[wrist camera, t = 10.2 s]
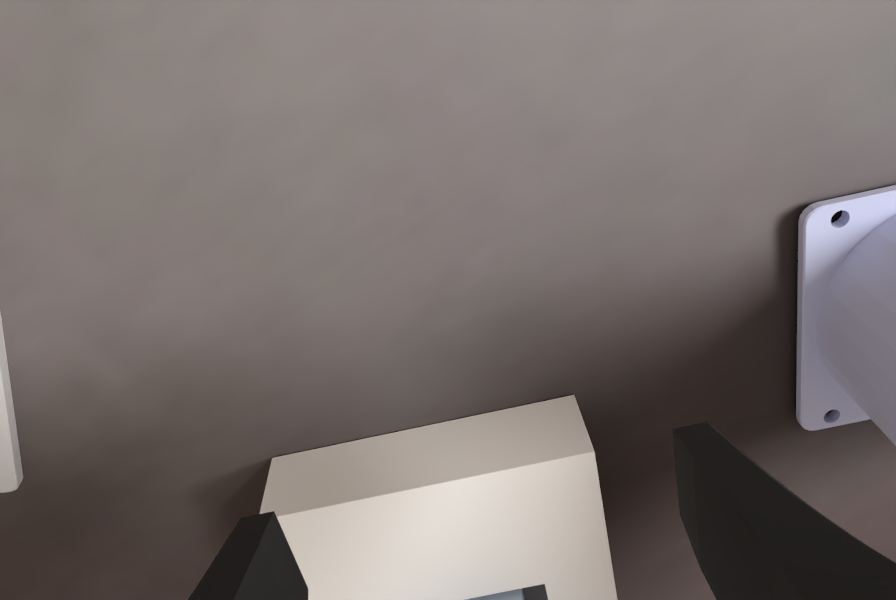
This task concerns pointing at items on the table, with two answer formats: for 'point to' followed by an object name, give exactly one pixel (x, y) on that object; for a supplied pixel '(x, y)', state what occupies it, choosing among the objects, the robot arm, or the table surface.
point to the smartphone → (7, 429)
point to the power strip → (450, 510)
